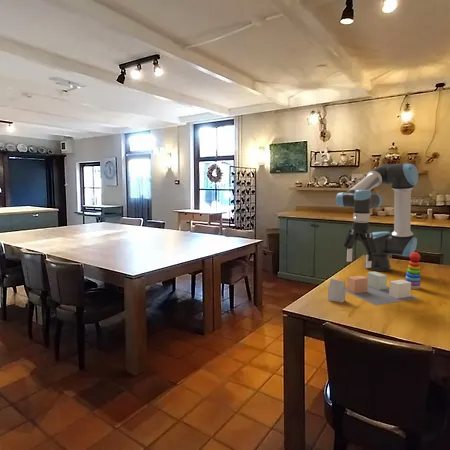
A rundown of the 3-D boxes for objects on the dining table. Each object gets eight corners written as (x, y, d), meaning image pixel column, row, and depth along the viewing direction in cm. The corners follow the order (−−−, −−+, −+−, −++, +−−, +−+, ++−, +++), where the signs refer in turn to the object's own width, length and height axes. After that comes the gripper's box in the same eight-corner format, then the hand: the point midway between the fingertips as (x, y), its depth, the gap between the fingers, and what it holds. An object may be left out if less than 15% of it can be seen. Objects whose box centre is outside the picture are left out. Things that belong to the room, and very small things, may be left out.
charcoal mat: (338, 289, 187) (338, 288, 187) (378, 283, 196) (378, 283, 196) (375, 306, 163) (375, 305, 162) (419, 299, 172) (419, 298, 172)
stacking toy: (401, 287, 190) (404, 252, 187) (406, 284, 195) (408, 249, 193) (418, 290, 184) (420, 254, 182) (422, 287, 190) (425, 252, 187)
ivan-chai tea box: (341, 303, 166) (342, 282, 164) (327, 300, 170) (328, 279, 169) (345, 301, 169) (346, 280, 167) (331, 298, 173) (332, 277, 172)
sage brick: (367, 285, 192) (367, 272, 191) (374, 284, 194) (375, 271, 193) (378, 289, 184) (379, 276, 183) (386, 288, 186) (386, 275, 185)
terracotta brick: (354, 293, 178) (355, 279, 178) (347, 290, 183) (348, 277, 182) (367, 291, 181) (368, 278, 180) (360, 288, 186) (360, 275, 185)
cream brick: (397, 298, 171) (398, 284, 170) (389, 295, 176) (389, 281, 175) (410, 296, 174) (411, 282, 173) (401, 293, 179) (402, 279, 178)
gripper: (338, 219, 188) (336, 259, 190) (373, 225, 165) (370, 270, 167) (350, 218, 190) (347, 258, 193) (386, 224, 167) (383, 269, 170)
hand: (358, 264), depth 180 cm, fingers open, 13 cm apart
